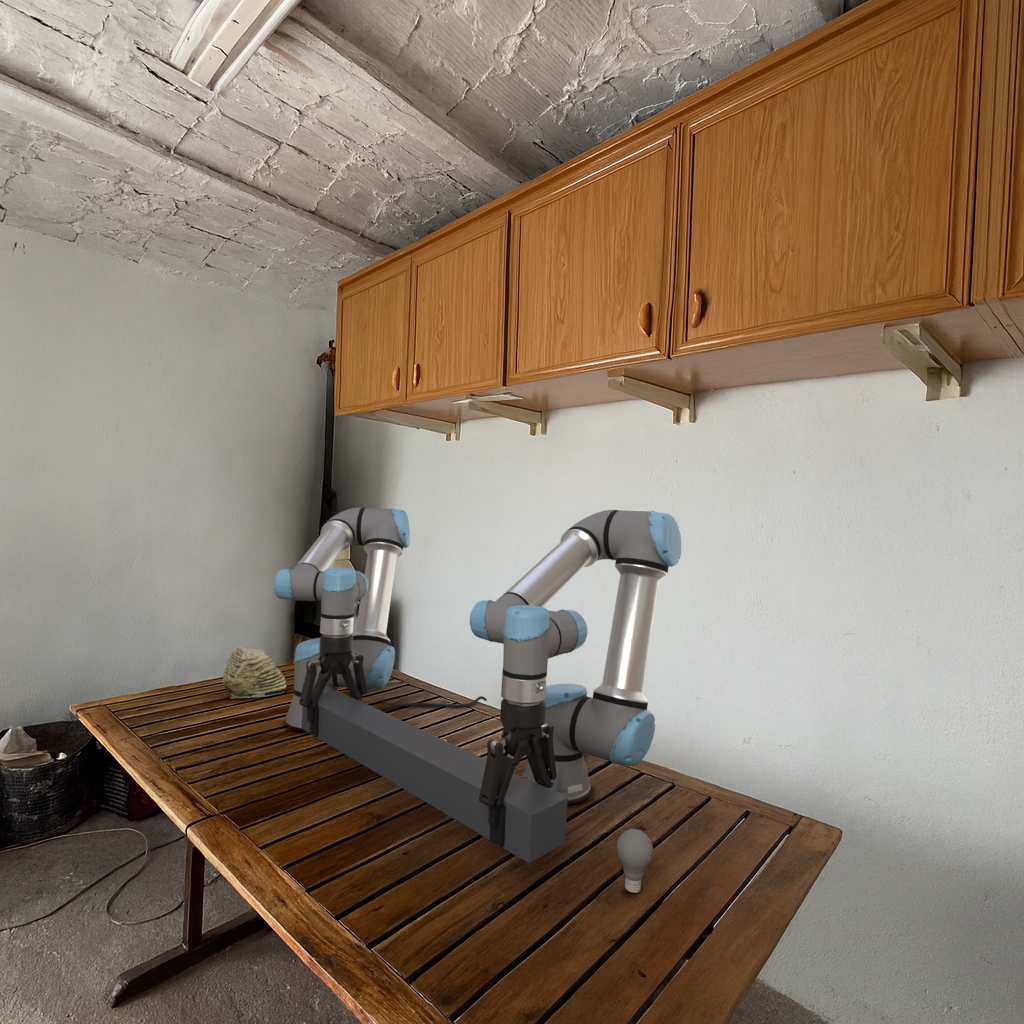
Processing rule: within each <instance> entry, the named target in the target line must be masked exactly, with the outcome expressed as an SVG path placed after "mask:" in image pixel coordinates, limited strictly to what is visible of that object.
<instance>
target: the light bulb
mask: <svg viewBox="0 0 1024 1024" xmlns="http://www.w3.org/2000/svg"><path fill="white" fill-rule="evenodd" d="M615 849H616V854H617V857H618V859H619V861H620V863H621V865H622V867H623V873H624V874H623V875H624V876H625V878H624V888H625V890H627V891H628V892H630V893H634V894H635V893H639V892H640V891H641V889H642V887H641V886H642V879H643V877H644V875H645V871H646V868H647V867H648V866H649V864H650V863H651V861H652V859H653V855H654V847H653V843H652V841H651V838H649V836H648V835H647V834H646V833H645V832H643V831H642V830H641V829H636V828H629V829H627V830H625V831H623V832H622V833H621V834H620V835H619V837H618V839H617V841H616V847H615Z"/></svg>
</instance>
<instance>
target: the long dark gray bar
mask: <svg viewBox="0 0 1024 1024" xmlns="http://www.w3.org/2000/svg"><path fill="white" fill-rule="evenodd" d="M317 707H318V708H319V731H318V736H317V737H316V738H317V739H318V740H320V741H321V742H323V743H324V744H325V743H326V744H327V745H329V746H330V747H332V748H334V749H336V750H337V751H339V752H340V753H342V754H344V755H345V756H347V757H349V758H350V759H352V760H353V761H355V762H357V763H358V764H361V765H362V766H364V767H366V768H368V769H369V770H370V771H372V772H374V773H376V774H378V775H379V776H380V777H383V778H384V779H386V780H388V781H389V782H391V783H393V784H395V785H396V786H398V787H400V788H401V789H403V790H404V791H406V792H408V793H409V794H411V795H413V796H414V797H416V798H418V799H420V800H422V801H423V802H425V803H426V804H428V805H430V806H432V807H433V808H435V809H437V810H438V811H440V812H442V813H443V814H445V815H447V816H449V817H450V818H452V819H453V820H455V821H457V822H458V823H461V824H462V825H464V826H466V827H467V828H468V829H471V830H472V831H474V832H475V833H477V834H478V835H480V836H482V837H484V838H486V839H487V840H489V841H490V824H489V822H488V818H489V817H488V814H489V806H487V805H485V804H483V803H482V802H480V801H479V796H480V791H481V786H482V781H483V776H484V771H485V766H486V761H487V759H485V758H483V757H481V756H479V755H476V754H475V753H473V752H470V751H468V750H466V749H464V748H462V747H459V746H457V745H455V744H453V743H451V742H449V741H445V740H442V739H443V738H440V737H438V736H436V735H434V734H432V733H429V732H427V731H425V730H423V729H421V728H419V727H417V726H415V725H412V724H411V723H408V722H406V721H404V720H402V719H400V718H398V717H396V716H393V715H391V714H389V713H387V712H385V711H383V710H382V711H380V710H378V709H379V708H376V707H374V706H371V705H369V704H368V703H365V702H363V701H361V700H357V699H354V698H352V696H351V695H348V694H346V693H344V692H341V691H339V690H338V689H337V690H334V691H329V692H324V693H322V695H321V697H320V699H319V701H318V704H317ZM302 729H303V730H305V731H307V732H306V733H308V734H309V733H310V722H309V721H308V720H307V707H304V706H302ZM496 798H497V796H496ZM567 802H568V798H567V797H565V796H563V795H561V794H558V793H556V792H554V791H552V790H550V789H548V788H546V787H543V786H541V785H539V784H537V783H535V782H533V781H531V780H528V779H526V778H524V777H523V775H520V774H518V773H516V772H513V775H512V778H511V781H510V784H509V787H508V790H507V792H506V795H505V798H504V801H503V805H505V806H506V820H505V843H504V846H503V847H501V848H503V849H504V850H505V851H507V852H509V853H511V854H512V855H514V856H516V857H518V858H519V859H521V860H523V861H524V862H526V863H528V864H531V863H532V862H534V861H536V860H538V859H540V858H541V857H544V856H545V855H547V854H549V853H550V852H552V851H554V850H557V849H558V848H560V847H561V846H563V845H565V844H566V843H567V824H568V823H567V822H568V821H567V820H568V805H567Z"/></svg>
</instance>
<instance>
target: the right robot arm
mask: <svg viewBox="0 0 1024 1024" xmlns="http://www.w3.org/2000/svg"><path fill="white" fill-rule="evenodd" d="M681 556H682V536H681V531H680V527H679V525H678V522H677V520H676V519H675V518H674V516H672V515H671V514H670V513H667V512H660V511H659V512H658V511H655V510H651V511H647V510H646V511H645V510H622V509H621V510H620V509H606V510H605V509H604V510H601V511H597V512H595V513H593V514H591V515H588V516H586V517H584V518H582V519H581V520H578V522H576V523H574V524H573V525H572V526H571V527H569V528H568V529H567V530H566V531H564V533H563V534H562V535H561V538H560V541H559V543H558V544H556V546H554V548H552V549H551V550H550V551H549V552H548V553H547V554H546V555H544V557H543V558H542V559H540V560H539V561H538V562H537V563H536V564H535V565H534V566H533V567H532V568H531V569H529V570H528V571H527V572H526V573H525V574H524V575H523V576H522V577H521V578H520V579H518V580H517V581H516V582H515V583H514V584H513V585H512V586H511V587H509V588H508V589H507V590H506V591H505V592H504V593H503V594H502V595H501V596H500V597H499V598H497V599H496V600H492V599H488V600H485V599H484V600H479V601H478V602H476V603H475V605H474V606H473V607H472V609H471V611H470V614H469V626H470V630H471V632H472V633H473V635H474V636H475V637H476V638H478V639H482V640H485V641H488V642H491V643H497V644H503V650H502V651H503V655H502V656H503V658H502V659H503V661H502V672H501V689H500V690H501V691H500V696H501V698H502V700H501V701H500V712H499V713H500V714H499V717H500V723H501V724H502V727H503V728H502V732H501V735H500V738H498V739H496V740H494V739H492V738H490V739H489V740H488V741H487V746H486V747H487V757H486V760H487V761H486V766H485V771H484V776H483V781H482V786H481V791H480V796H479V801H480V802H482V803H483V804H485V805H487V806H489V814H488V817H489V818H488V822H489V824H490V840H489V842H491V843H493V844H494V845H495V846H498V847H499V848H502V847H503V846H504V843H505V820H506V806H505V805H503V801H504V798H505V795H506V792H507V790H508V787H509V784H510V781H511V778H512V775H513V773H515V770H516V767H517V766H519V765H520V762H521V761H522V760H521V759H522V758H525V756H526V758H527V764H526V767H525V769H524V772H523V775H522V777H524V778H526V779H528V780H531V781H533V782H535V783H537V784H539V785H541V786H543V787H546V788H548V789H550V790H552V791H554V792H556V793H558V794H561V795H563V796H565V797H567V798H568V802H567V806H569V805H575V804H579V803H583V801H585V800H587V799H588V798H589V797H590V795H591V780H590V778H589V773H588V768H587V766H586V765H587V764H586V762H585V755H589V756H591V757H595V758H599V759H602V760H605V761H609V762H611V764H614V765H615V764H618V765H621V766H622V765H623V766H627V767H634V766H636V765H638V764H639V763H641V762H642V761H643V759H644V758H645V756H646V755H647V753H648V751H649V750H650V748H651V745H652V742H653V739H654V735H655V730H656V723H655V722H656V718H655V715H654V714H653V713H652V712H651V710H648V707H649V706H648V705H649V700H648V699H647V698H646V696H645V694H644V691H643V690H644V683H645V677H646V670H647V665H648V658H649V653H650V644H651V640H652V639H651V638H652V632H653V631H652V630H653V625H654V619H655V613H656V612H655V611H656V605H657V599H658V593H659V588H660V587H659V586H660V582H661V581H662V580H664V579H665V578H666V577H667V576H668V573H669V568H672V567H675V566H677V565H678V564H679V562H680V559H681ZM601 560H611V561H615V562H614V567H615V569H616V570H617V572H618V574H619V581H618V586H617V593H616V599H615V605H614V611H613V616H612V622H611V629H610V635H609V641H608V645H607V652H606V657H605V658H606V659H605V665H604V670H603V676H602V683H601V684H600V685H598V686H597V687H595V688H594V689H593V693H592V697H591V696H588V690H587V688H586V687H585V686H584V685H581V684H577V683H556V684H549V685H547V680H548V679H547V676H548V666H549V665H548V664H549V659H551V658H552V659H553V658H554V657H558V656H561V655H564V654H571V653H572V652H573V651H575V650H577V649H580V648H581V647H582V646H583V645H584V644H585V642H586V640H587V637H588V633H589V632H588V625H587V622H586V619H585V618H584V617H583V615H581V613H579V612H577V611H576V610H573V609H559V610H557V611H556V610H549V609H548V608H546V606H547V605H548V604H549V603H550V602H551V601H552V600H553V599H554V598H555V597H556V596H557V595H558V594H559V593H561V591H562V590H563V589H564V588H565V587H566V586H567V585H568V584H569V583H570V581H572V580H573V579H574V578H575V577H576V576H577V575H578V574H579V572H581V571H582V569H584V568H588V567H591V566H593V565H594V564H595V563H596V562H597V561H601ZM510 756H511V757H510ZM496 796H497V798H496Z"/></svg>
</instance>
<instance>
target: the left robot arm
mask: <svg viewBox="0 0 1024 1024" xmlns="http://www.w3.org/2000/svg"><path fill="white" fill-rule="evenodd" d="M409 521H410V520H409V517H408V513H407V512H406V510H403V509H397V508H376V507H359V506H357V507H351V508H348V509H346V510H343V511H341V512H339V513H337V514H335V515H333V516H332V517H330V518H329V519H328V520H326V522H324V524H323V526H322V527H321V529H320V534H319V536H318V537H317V539H316V540H315V541H314V542H313V544H312V545H311V546H310V547H309V548H308V550H307V552H306V553H305V554H304V555H303V556H302V558H301V559H300V560H299V561H298V563H297V564H296V565H295V566H294V568H293V569H291V568H285V569H280V570H278V571H277V572H276V574H275V576H274V580H273V592H274V596H275V597H276V598H277V599H279V600H286V601H287V600H288V601H291V602H293V601H307V602H320V603H321V605H320V607H321V609H320V625H319V626H320V627H319V633H320V634H321V635H320V637H315V638H312V639H307V640H304V641H302V642H300V643H298V644H297V645H296V648H295V655H294V659H293V662H294V672H293V695H292V696H293V697H292V699H291V702H290V704H289V708H288V711H287V713H286V715H285V726H286V728H287V729H289V730H291V731H294V732H295V731H296V732H301V733H308V732H307V731H305V730H303V729H302V706H304V707H307V720H308V721H309V722H310V733H308V734H309V735H311V736H312V737H314V738H317V736H318V731H319V708H318V707H317V704H318V701H319V699H320V697H321V695H322V693H324V692H329V691H334V690H337V691H338V688H347V690H348V693H349V694H350V697H352V698H354V699H357V700H359V701H361V700H362V699H363V696H364V695H365V696H366V695H367V693H368V690H371V689H373V690H374V689H376V690H377V689H379V690H380V689H383V688H384V687H385V686H386V685H387V684H388V683H389V681H390V678H391V677H392V676H391V675H392V673H393V670H394V666H395V665H394V664H395V657H396V650H395V647H394V646H392V645H391V640H390V638H389V637H388V635H387V629H388V624H389V615H390V609H391V602H392V593H393V586H394V580H395V573H396V567H397V566H396V565H397V559H398V558H399V557H400V556H403V551H404V549H407V548H409V547H410V544H411V542H410V541H411V532H410V522H409ZM350 546H363V551H364V552H365V553H366V554H367V556H366V557H367V558H366V565H365V569H364V573H363V572H362V571H358V570H354V569H352V568H349V567H332V566H333V565H334V563H335V562H336V561H337V559H338V557H339V556H340V555H341V553H342V552H343V550H346V549H348V548H349V547H350ZM359 601H360V602H359ZM356 602H359V608H358V614H357V620H356V626H355V625H354V621H355V605H356V604H355V603H356ZM354 626H355V632H354ZM480 700H483V701H484V702H485V701H488V699H487V698H486V697H485V696H482V695H480V696H478V697H477V698H475V699H474V700H472V701H471V702H468V703H458V704H457V703H455V704H454V703H428V702H409V703H408V702H407V703H398V704H393V705H387V706H383V707H380V708H377V709H378V710H380V711H382V712H383V711H386V710H390V709H396V708H403V707H434V708H435V707H439V708H440V707H441V708H466V707H470V706H473V705H474V704H476V703H477V702H479V701H480Z"/></svg>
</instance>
